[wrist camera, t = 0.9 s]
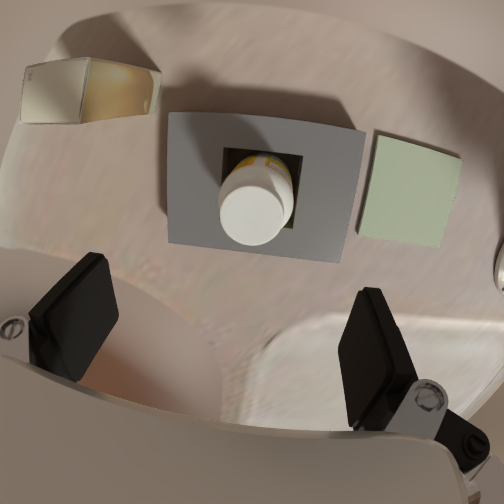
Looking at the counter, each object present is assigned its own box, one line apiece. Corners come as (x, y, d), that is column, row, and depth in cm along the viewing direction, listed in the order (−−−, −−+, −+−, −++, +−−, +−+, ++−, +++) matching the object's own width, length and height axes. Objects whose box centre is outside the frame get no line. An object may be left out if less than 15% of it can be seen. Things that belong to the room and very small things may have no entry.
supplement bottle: (294, 155, 25) (301, 179, 16) (287, 210, 27) (290, 260, 19) (234, 149, 25) (210, 170, 17) (231, 204, 28) (208, 251, 19)
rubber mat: (460, 159, 23) (463, 160, 22) (436, 246, 27) (438, 248, 27) (377, 134, 23) (378, 135, 23) (357, 233, 28) (358, 235, 27)
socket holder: (356, 129, 23) (366, 132, 20) (334, 248, 29) (339, 263, 26) (180, 111, 24) (168, 112, 21) (178, 230, 29) (168, 242, 27)
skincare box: (103, 110, 24) (15, 126, 13) (109, 70, 22) (21, 65, 11) (158, 115, 24) (78, 127, 13) (166, 71, 22) (89, 55, 11)
